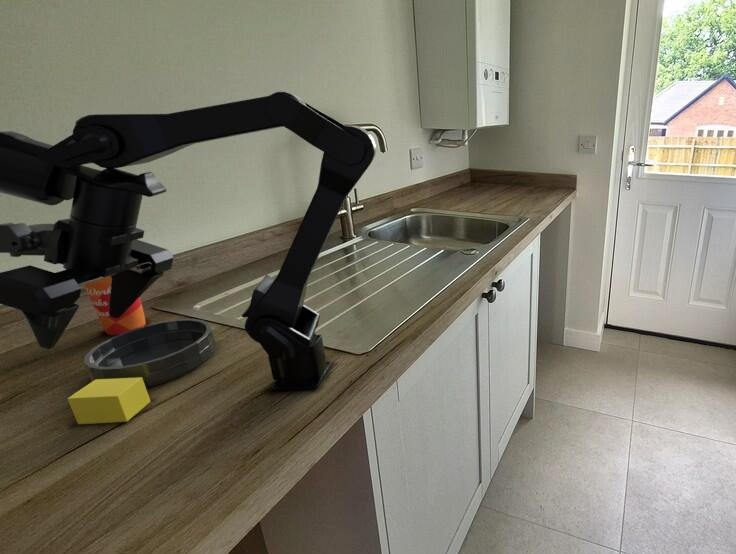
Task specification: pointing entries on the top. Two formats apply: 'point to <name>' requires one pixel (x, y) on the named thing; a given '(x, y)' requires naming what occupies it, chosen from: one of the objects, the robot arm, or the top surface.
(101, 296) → the paper cup
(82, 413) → the sponge
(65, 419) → the top surface
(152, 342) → the pan
